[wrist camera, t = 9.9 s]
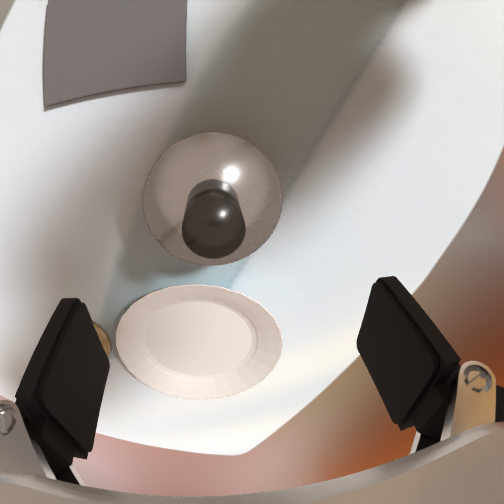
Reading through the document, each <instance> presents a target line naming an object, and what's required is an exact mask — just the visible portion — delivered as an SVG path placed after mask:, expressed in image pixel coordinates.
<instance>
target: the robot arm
mask: <svg viewBox="0 0 504 504" xmlns="http://www.w3.org/2000/svg"><path fill="white" fill-rule="evenodd" d="M357 349H358V351H359V353H360V355H361V357H362V359H363V361H364V363H365V365H366V367H367V369H368V371H369V373H370V375H371V377H372V379H373V381H374V383H375V385H376V387H377V390H378V392H379V394H380V396H381V398H382V400H383V402H384V404H385V406H386V408H387V411H388V413H389V415H390V417H391V419H392V421H393V423H395V424H398V426H399V428H400V430H404V429H406V428H409V427H412V426H415V428H416V430H417V433H416V436H415V439H414V443H413V446H412V449H411V452H410V455H407V456H405V457H402V458H400V459H397V460H394V461H392V462H389V463H386V464H383V465H380V466H377V467H375V468H372V469H368V470H365V471H362V472H358V473H355V474H351V475H348V476H344V477H341V478H337V479H333V480H329V481H325V482H320V483H315V484H311V485H306V486H301V487H295V488H289V489H283V490H278V491H270V492H262V493H253V494H242V495H231V496H230V495H229V496H207V497H206V496H203V497H183V496H179V497H178V496H157V495H145V494H135V493H126V492H118V491H111V490H104V489H99V488H93V487H87V486H85V484H84V483H83V481H82V480H81V478H80V476H79V475H78V473H77V471H76V470H75V468H74V466H73V465H72V462H73V457H77V458H82V459H87V456H88V452H91V451H92V448H93V444H94V438H95V432H96V427H97V422H98V417H99V412H100V407H101V402H102V398H103V393H104V389H105V385H106V381H107V376H108V372H109V368H110V364H109V359H108V357H107V354H106V352H105V350H104V348H103V346H102V343H101V341H100V339H99V336H98V334H97V332H96V329H95V327H94V325H93V322H92V320H91V317H90V315H89V312H88V310H87V307H86V305H85V303H81V301H80V299H78V298H63V299H62V300H61V301H60V303H59V304H58V306H57V308H56V310H55V312H54V313H53V315H52V317H51V319H50V321H49V323H48V325H47V327H46V329H45V331H44V333H43V335H42V337H41V339H40V341H39V343H38V345H37V347H36V349H35V351H34V353H33V355H32V357H31V360H30V362H29V364H28V366H27V368H26V371H25V373H24V375H23V378H22V380H21V382H20V385H19V387H18V390H17V392H16V395H15V397H16V402H15V403H13V402H12V401H9V400H1V401H0V504H504V388H503V387H500V386H498V385H496V380H495V377H494V374H493V372H492V371H491V370H490V369H489V368H488V367H487V366H486V365H484V364H483V363H480V362H477V361H469V362H466V363H464V364H463V365H462V366H460V365H459V361H460V360H461V359H460V358H459V356H458V355H457V354H456V352H455V351H454V349H453V348H452V347H451V345H450V344H449V343H448V341H447V340H446V339H445V337H444V336H443V335H442V333H441V332H440V331H439V329H438V328H437V327H436V326H435V324H434V323H433V322H432V320H431V319H430V318H429V316H428V315H427V314H426V313H425V311H424V310H423V309H422V308H421V307H420V305H419V304H418V303H417V302H416V300H415V299H414V298H413V297H412V295H411V294H410V293H409V292H408V291H407V289H406V288H405V287H404V286H403V285H402V283H401V282H400V281H399V280H398V279H397V278H396V277H395V276H390V277H382V278H378V280H377V281H376V283H374V284H373V285H372V289H371V292H370V296H369V300H368V304H367V307H366V311H365V314H364V318H363V321H362V325H361V328H360V331H359V335H358V338H357Z"/></svg>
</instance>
